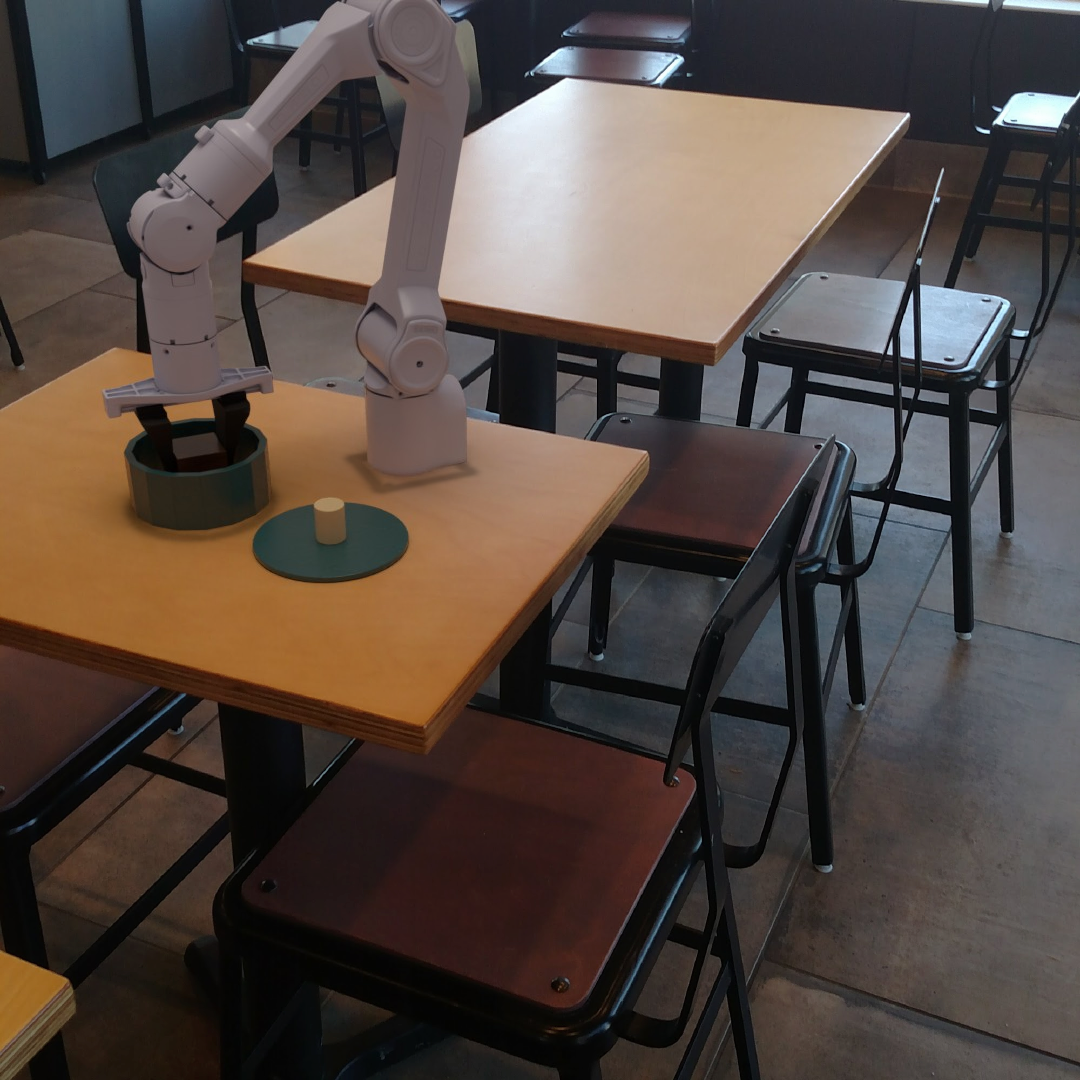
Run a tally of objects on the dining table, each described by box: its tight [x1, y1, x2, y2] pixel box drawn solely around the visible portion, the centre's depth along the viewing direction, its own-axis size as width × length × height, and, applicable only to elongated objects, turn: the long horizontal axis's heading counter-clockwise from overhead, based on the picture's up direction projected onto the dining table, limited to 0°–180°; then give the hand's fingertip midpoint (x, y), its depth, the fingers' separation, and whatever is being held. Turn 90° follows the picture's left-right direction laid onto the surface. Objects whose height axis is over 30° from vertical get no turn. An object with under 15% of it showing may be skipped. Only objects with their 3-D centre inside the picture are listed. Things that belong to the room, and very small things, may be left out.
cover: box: [252, 496, 410, 583], centre depth 108 cm, size 13×13×4 cm
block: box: [172, 432, 228, 473], centre depth 114 cm, size 4×4×4 cm
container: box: [123, 417, 273, 531], centre depth 114 cm, size 12×12×6 cm
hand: (199, 475), depth 115 cm, fingers closed on block, 4 cm apart
